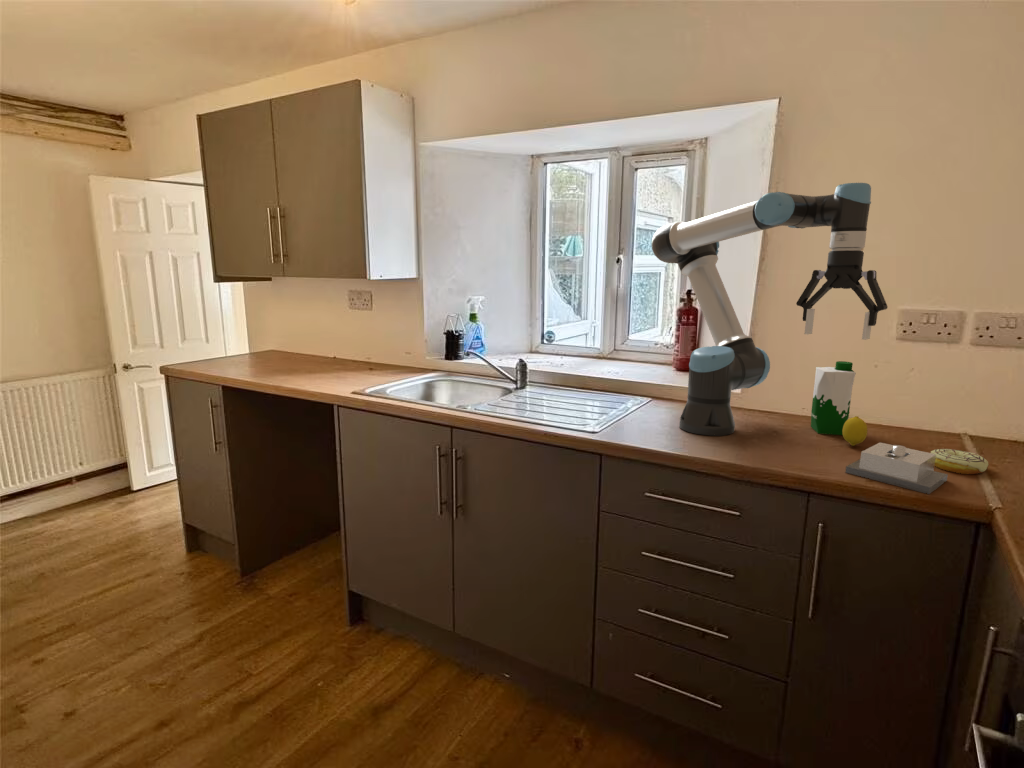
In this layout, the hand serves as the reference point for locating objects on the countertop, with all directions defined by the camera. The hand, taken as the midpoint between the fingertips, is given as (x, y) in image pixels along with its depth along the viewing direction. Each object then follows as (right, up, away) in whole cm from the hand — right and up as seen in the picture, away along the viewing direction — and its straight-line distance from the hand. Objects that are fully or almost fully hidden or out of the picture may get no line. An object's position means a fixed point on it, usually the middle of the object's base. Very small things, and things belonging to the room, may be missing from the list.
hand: (835, 336), depth 142 cm
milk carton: (+9, -26, +19) cm, 33 cm away
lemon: (+8, -28, +6) cm, 30 cm away
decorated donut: (+22, -32, -10) cm, 40 cm away
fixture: (+4, -33, -16) cm, 37 cm away
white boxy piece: (+4, -31, -16) cm, 35 cm away
